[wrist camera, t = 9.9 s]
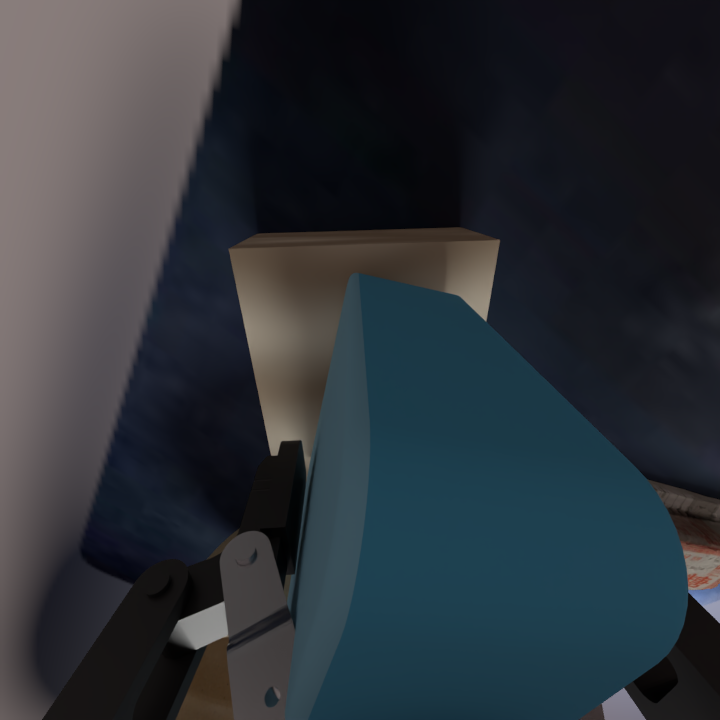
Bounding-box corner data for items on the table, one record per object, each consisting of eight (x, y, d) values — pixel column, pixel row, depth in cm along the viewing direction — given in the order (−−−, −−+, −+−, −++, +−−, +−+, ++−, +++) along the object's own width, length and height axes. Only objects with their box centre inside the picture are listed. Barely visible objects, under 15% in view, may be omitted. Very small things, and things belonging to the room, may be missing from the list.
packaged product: (791, 546, 26) (697, 609, 31) (729, 496, 30) (653, 557, 35) (616, 507, 23) (537, 584, 27) (572, 457, 27) (510, 530, 31)
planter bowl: (249, 592, 33) (212, 755, 24) (171, 487, 26) (70, 664, 16) (402, 564, 32) (428, 723, 23) (368, 446, 25) (384, 609, 15)
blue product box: (383, 481, 19) (420, 836, 9) (308, 470, 19) (249, 835, 8) (453, 286, 14) (782, 593, 3) (351, 263, 13) (345, 540, 3)
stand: (437, 428, 24) (458, 481, 20) (290, 435, 24) (278, 491, 19) (460, 227, 18) (499, 240, 13) (257, 233, 17) (228, 248, 13)
